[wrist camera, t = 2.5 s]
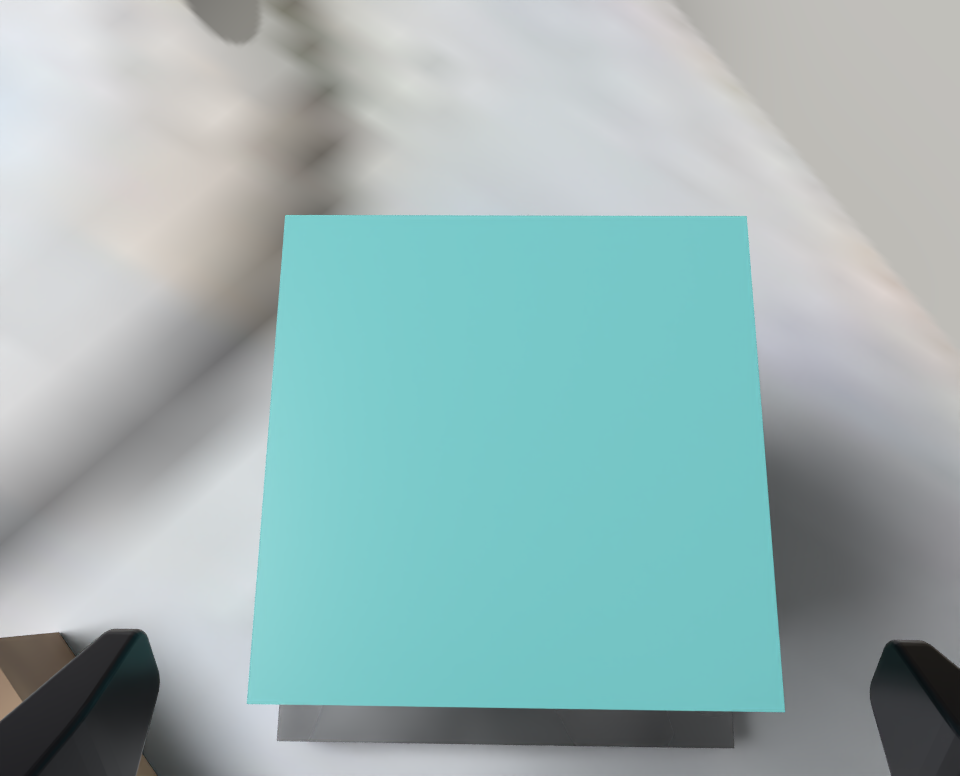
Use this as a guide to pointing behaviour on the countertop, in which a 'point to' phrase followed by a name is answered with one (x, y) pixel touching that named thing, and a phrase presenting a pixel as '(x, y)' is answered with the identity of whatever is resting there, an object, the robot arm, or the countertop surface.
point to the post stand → (506, 726)
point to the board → (35, 672)
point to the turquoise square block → (516, 468)
